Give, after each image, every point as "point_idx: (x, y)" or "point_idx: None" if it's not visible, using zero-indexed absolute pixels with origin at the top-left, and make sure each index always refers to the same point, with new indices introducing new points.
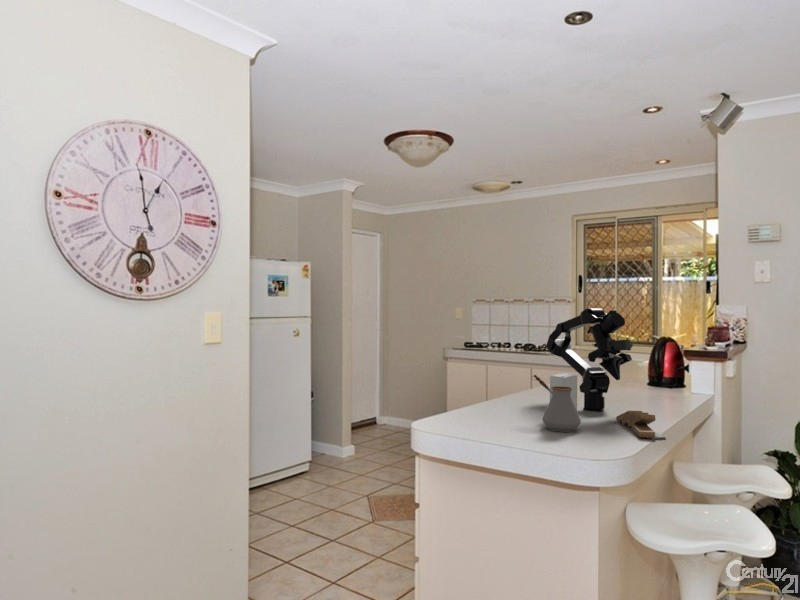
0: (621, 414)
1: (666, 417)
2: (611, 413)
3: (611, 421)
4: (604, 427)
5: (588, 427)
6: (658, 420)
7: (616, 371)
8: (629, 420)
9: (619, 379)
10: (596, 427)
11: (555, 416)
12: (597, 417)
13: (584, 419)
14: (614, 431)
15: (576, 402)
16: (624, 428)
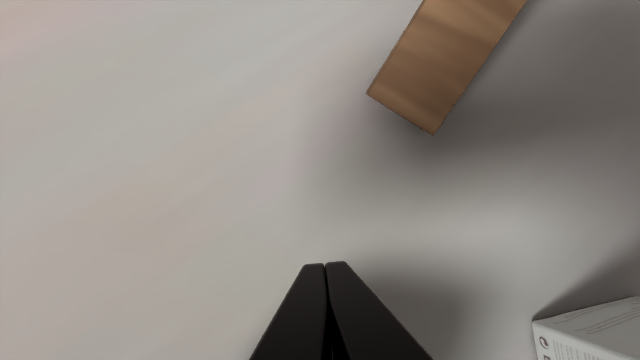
0: (482, 63)
1: (11, 43)
2: (240, 316)
3: (438, 156)
4: (574, 87)
5: (636, 128)
6: (162, 23)
7: (414, 342)
8: None
9: (312, 267)
10: (606, 108)
11: None
12: (422, 269)
13: (526, 265)
14: (595, 13)
15: (621, 349)
16: None
